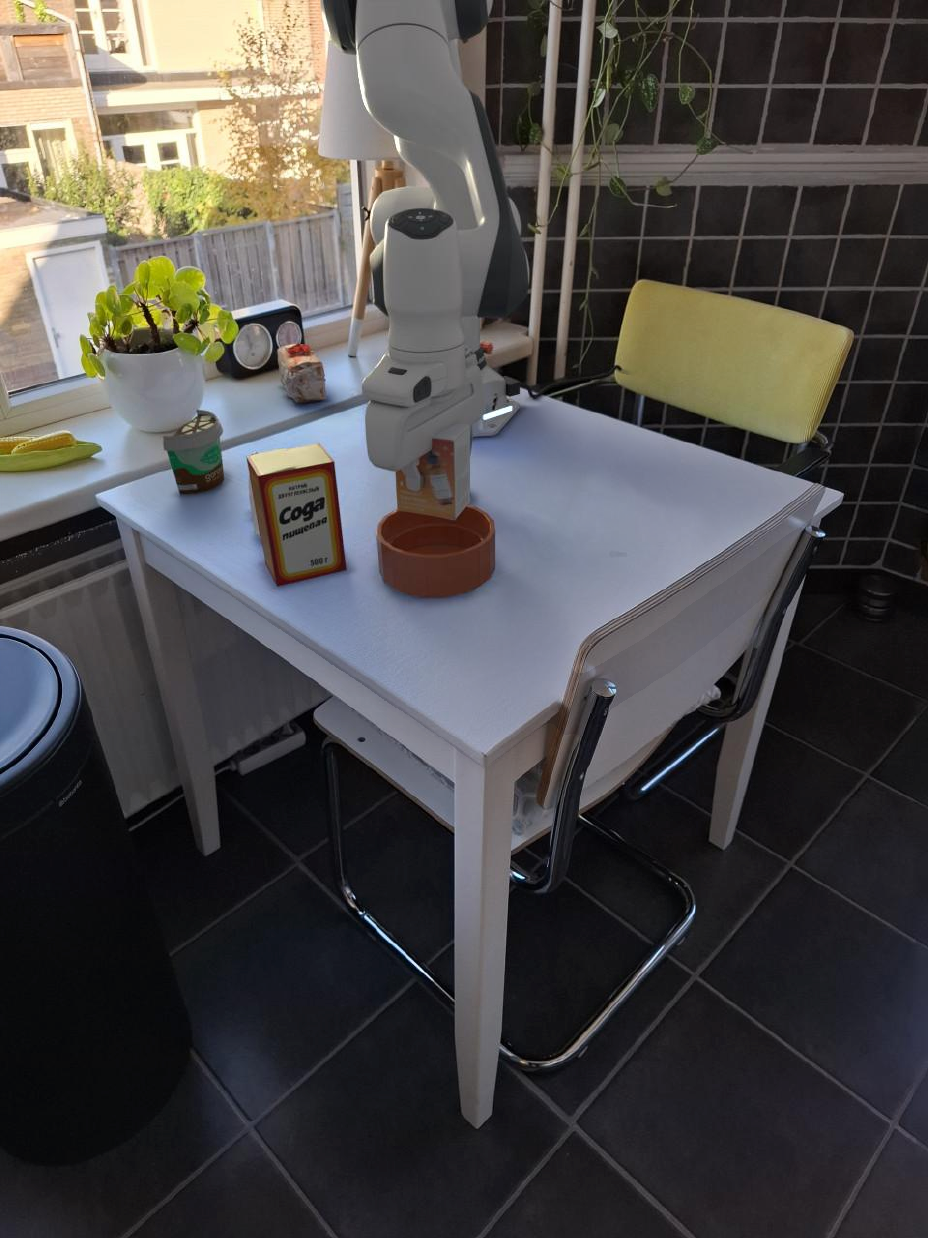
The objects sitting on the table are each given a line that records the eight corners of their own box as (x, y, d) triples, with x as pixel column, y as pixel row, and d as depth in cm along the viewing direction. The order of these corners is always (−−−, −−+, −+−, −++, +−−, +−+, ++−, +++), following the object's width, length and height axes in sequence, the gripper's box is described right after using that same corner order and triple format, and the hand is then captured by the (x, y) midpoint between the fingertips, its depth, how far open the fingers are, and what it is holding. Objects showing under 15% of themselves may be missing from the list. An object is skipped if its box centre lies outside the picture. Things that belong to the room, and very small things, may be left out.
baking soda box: (332, 548, 121) (319, 440, 112) (346, 570, 116) (333, 458, 107) (265, 564, 118) (245, 453, 109) (277, 586, 113) (257, 473, 104)
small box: (396, 512, 109) (390, 432, 103) (413, 493, 113) (409, 416, 108) (456, 521, 107) (454, 440, 101) (471, 501, 111) (470, 423, 105)
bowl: (403, 537, 123) (400, 495, 120) (507, 550, 119) (507, 507, 116) (362, 592, 111) (358, 548, 108) (476, 609, 107) (475, 563, 104)
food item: (332, 401, 169) (326, 351, 164) (292, 408, 167) (285, 357, 161) (313, 381, 180) (307, 333, 174) (275, 387, 177) (268, 338, 172)
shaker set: (287, 545, 122) (275, 472, 116) (257, 549, 121) (243, 476, 115) (280, 508, 132) (270, 439, 125) (252, 511, 131) (240, 442, 125)
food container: (211, 501, 134) (199, 439, 129) (175, 498, 135) (161, 437, 130) (244, 468, 144) (233, 410, 139) (209, 465, 145) (198, 408, 140)
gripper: (452, 339, 109) (455, 443, 116) (351, 388, 94) (362, 503, 102) (496, 346, 106) (496, 452, 114) (398, 397, 92) (406, 515, 99)
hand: (432, 477), depth 108 cm, fingers closed on small box, 6 cm apart
